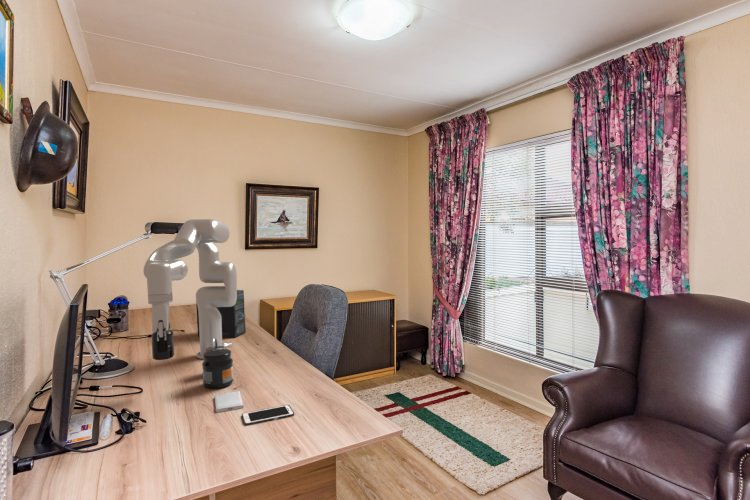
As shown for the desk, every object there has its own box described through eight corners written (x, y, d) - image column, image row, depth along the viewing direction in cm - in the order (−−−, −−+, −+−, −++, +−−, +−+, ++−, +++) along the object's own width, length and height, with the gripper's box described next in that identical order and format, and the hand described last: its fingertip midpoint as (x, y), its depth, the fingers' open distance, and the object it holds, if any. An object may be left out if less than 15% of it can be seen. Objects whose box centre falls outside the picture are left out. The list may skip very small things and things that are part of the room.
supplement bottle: (165, 361, 140) (163, 326, 139) (147, 360, 141) (145, 325, 140) (178, 354, 146) (177, 321, 145) (162, 353, 148) (160, 320, 147)
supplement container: (239, 381, 154) (238, 350, 153) (218, 391, 144) (217, 358, 143) (218, 377, 158) (217, 347, 157) (196, 387, 148) (195, 354, 148)
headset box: (196, 337, 221) (195, 289, 220) (209, 331, 233) (207, 286, 232) (235, 338, 218) (234, 289, 216) (246, 332, 229) (244, 286, 228)
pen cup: (219, 369, 168) (217, 335, 167) (228, 372, 164) (227, 337, 163) (202, 373, 163) (201, 338, 162) (212, 377, 158) (211, 341, 158)
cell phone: (241, 416, 125) (241, 413, 125) (289, 407, 131) (289, 404, 131) (244, 427, 118) (244, 423, 118) (295, 416, 124) (295, 413, 124)
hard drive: (214, 394, 139) (216, 409, 127) (240, 390, 142) (243, 404, 130) (214, 399, 139) (216, 414, 127) (240, 395, 142) (243, 409, 130)
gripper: (150, 295, 148) (152, 343, 150) (145, 303, 133) (148, 357, 134) (173, 293, 151) (175, 340, 153) (171, 301, 136) (174, 354, 137)
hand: (163, 348), depth 143 cm, fingers closed on supplement bottle, 6 cm apart
